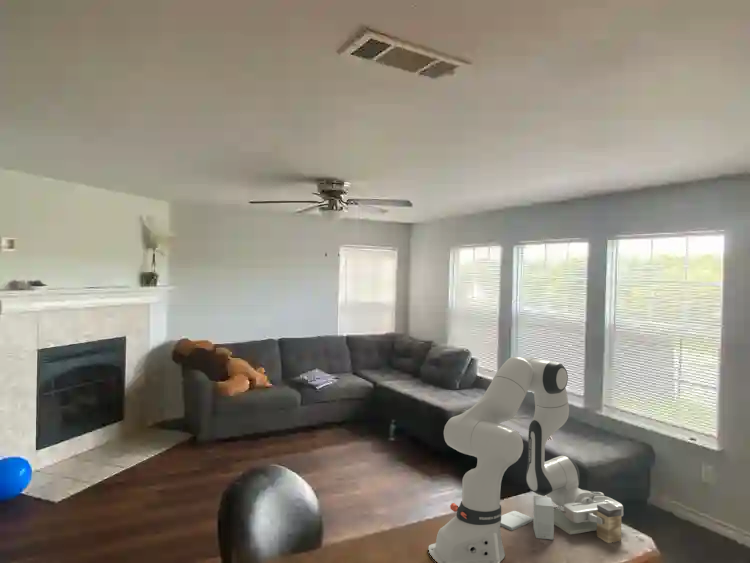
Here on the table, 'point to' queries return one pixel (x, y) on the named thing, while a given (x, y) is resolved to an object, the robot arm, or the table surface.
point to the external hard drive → (514, 520)
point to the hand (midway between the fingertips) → (611, 520)
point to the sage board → (572, 524)
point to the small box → (543, 518)
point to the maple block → (609, 523)
